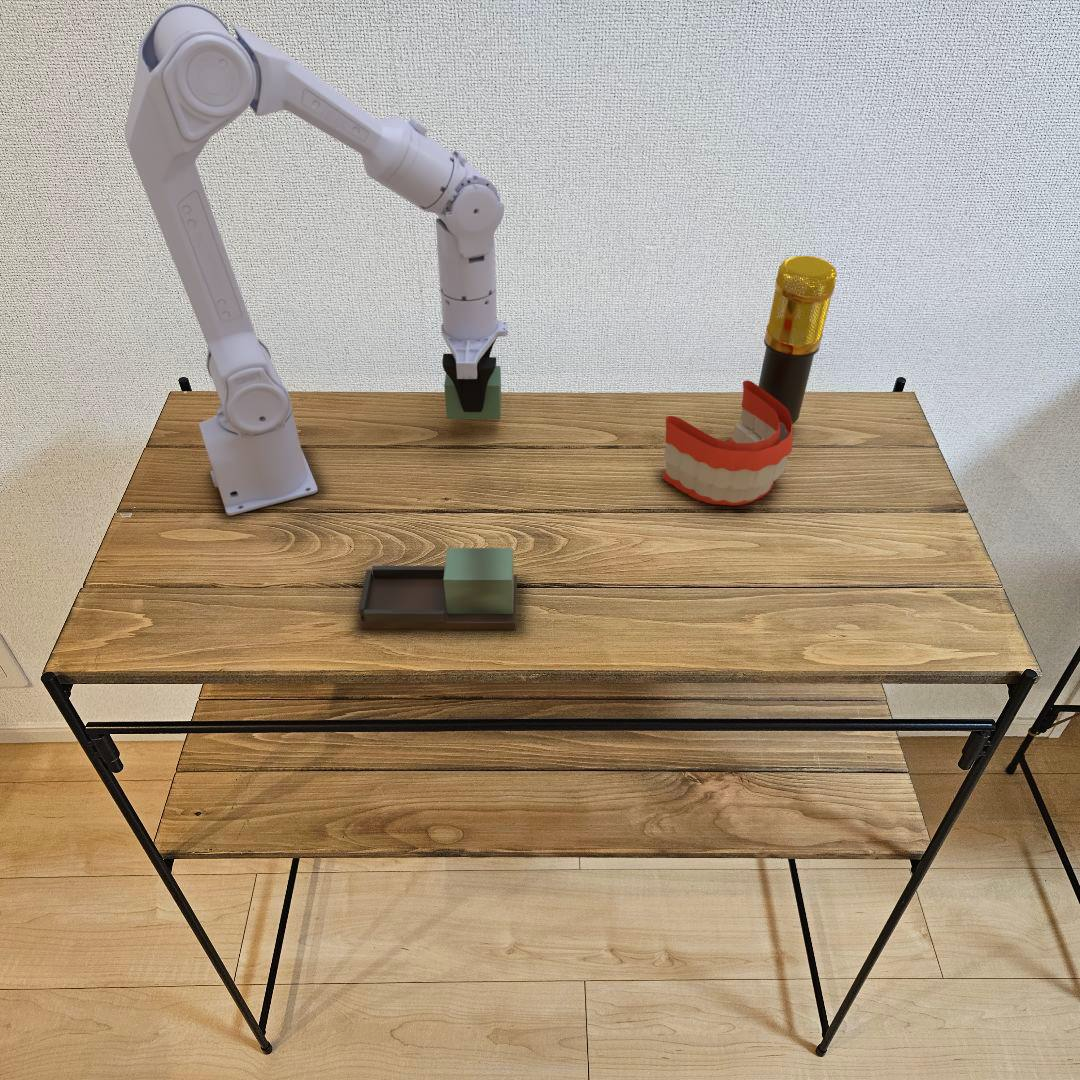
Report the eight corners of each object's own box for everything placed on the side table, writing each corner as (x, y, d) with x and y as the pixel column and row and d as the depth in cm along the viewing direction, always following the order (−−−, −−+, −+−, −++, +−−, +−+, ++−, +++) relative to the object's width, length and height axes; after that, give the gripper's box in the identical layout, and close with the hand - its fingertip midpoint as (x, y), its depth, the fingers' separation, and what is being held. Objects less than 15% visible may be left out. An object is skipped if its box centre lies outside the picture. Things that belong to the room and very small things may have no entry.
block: (446, 419, 100) (444, 385, 96) (449, 399, 102) (446, 365, 99) (500, 419, 100) (499, 385, 97) (501, 399, 103) (500, 365, 99)
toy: (723, 532, 90) (735, 470, 84) (655, 479, 96) (662, 418, 90) (807, 485, 95) (823, 424, 90) (737, 438, 101) (749, 378, 96)
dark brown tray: (361, 629, 80) (352, 587, 76) (370, 581, 85) (362, 540, 81) (515, 629, 80) (514, 587, 76) (517, 582, 85) (516, 540, 81)
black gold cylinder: (867, 438, 101) (919, 275, 88) (754, 443, 101) (788, 280, 87) (850, 409, 106) (897, 249, 92) (742, 414, 105) (772, 253, 91)
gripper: (505, 323, 85) (507, 437, 95) (509, 255, 96) (510, 364, 105) (431, 323, 85) (441, 437, 95) (443, 255, 96) (451, 363, 105)
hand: (473, 398), depth 100 cm, fingers closed on block, 4 cm apart
